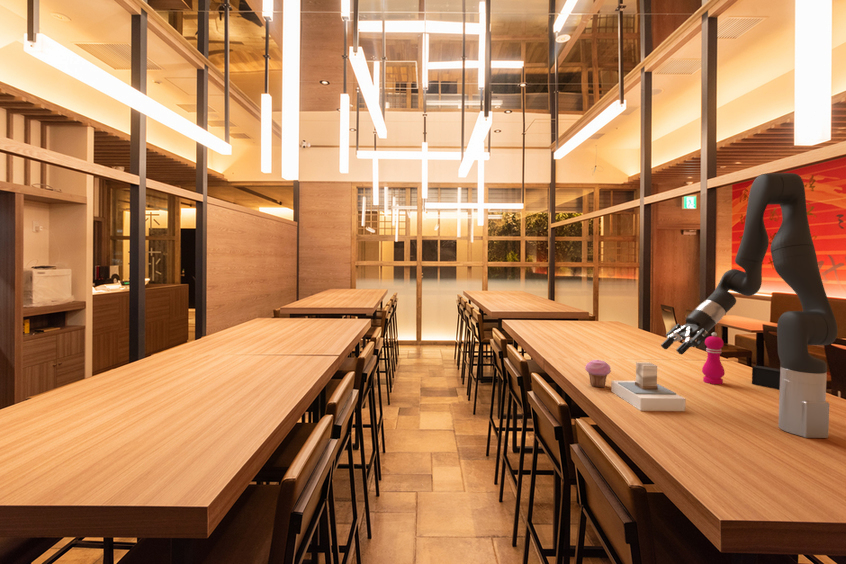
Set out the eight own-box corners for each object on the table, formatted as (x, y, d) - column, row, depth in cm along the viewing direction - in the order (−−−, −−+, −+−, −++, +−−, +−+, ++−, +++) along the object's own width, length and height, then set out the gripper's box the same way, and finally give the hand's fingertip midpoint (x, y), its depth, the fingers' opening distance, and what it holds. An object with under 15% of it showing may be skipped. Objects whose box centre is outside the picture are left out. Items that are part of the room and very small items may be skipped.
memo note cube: (657, 389, 132) (658, 365, 132) (642, 389, 132) (643, 365, 132) (649, 385, 137) (649, 362, 137) (634, 385, 137) (635, 362, 137)
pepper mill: (723, 381, 158) (724, 331, 158) (725, 386, 152) (726, 334, 152) (701, 379, 162) (702, 330, 162) (702, 383, 156) (703, 332, 156)
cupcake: (585, 387, 149) (586, 361, 149) (584, 381, 158) (584, 356, 157) (611, 390, 146) (612, 363, 146) (609, 383, 155) (609, 358, 154)
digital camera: (791, 389, 149) (792, 370, 149) (786, 391, 147) (786, 372, 146) (757, 382, 158) (758, 364, 158) (751, 384, 156) (752, 366, 155)
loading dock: (685, 411, 125) (685, 397, 125) (640, 410, 125) (640, 396, 125) (649, 391, 145) (650, 379, 145) (611, 391, 145) (611, 379, 145)
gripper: (683, 306, 141) (650, 338, 141) (712, 310, 127) (676, 345, 127) (698, 321, 141) (665, 353, 141) (729, 327, 127) (692, 362, 127)
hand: (670, 350), depth 134 cm, fingers open, 8 cm apart
